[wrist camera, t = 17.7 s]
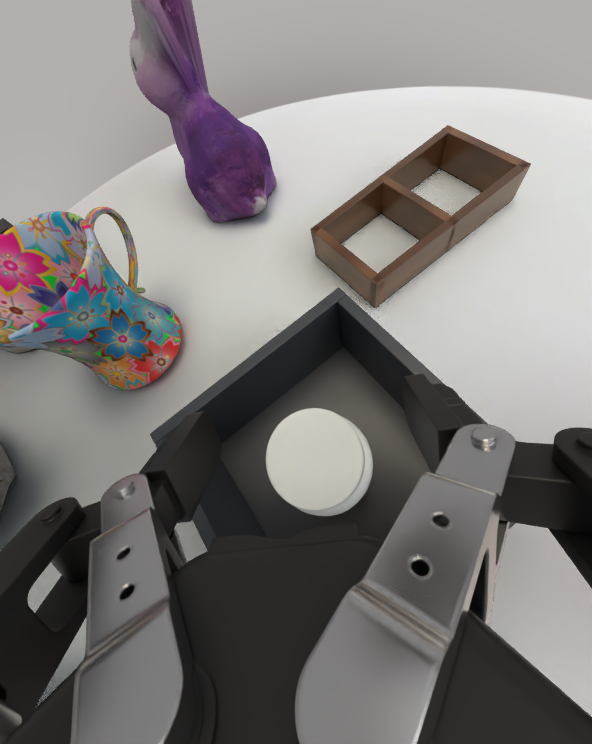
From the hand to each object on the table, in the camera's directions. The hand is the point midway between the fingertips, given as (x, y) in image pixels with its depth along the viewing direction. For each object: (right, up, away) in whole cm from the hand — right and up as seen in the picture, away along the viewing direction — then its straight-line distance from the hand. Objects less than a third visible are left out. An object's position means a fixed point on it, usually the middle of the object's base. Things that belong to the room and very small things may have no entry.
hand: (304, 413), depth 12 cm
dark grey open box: (+2, -5, +8) cm, 9 cm away
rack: (+9, +14, +13) cm, 22 cm away
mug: (-14, +5, +15) cm, 21 cm away
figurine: (-7, +21, +20) cm, 30 cm away
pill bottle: (+2, -5, +7) cm, 9 cm away
